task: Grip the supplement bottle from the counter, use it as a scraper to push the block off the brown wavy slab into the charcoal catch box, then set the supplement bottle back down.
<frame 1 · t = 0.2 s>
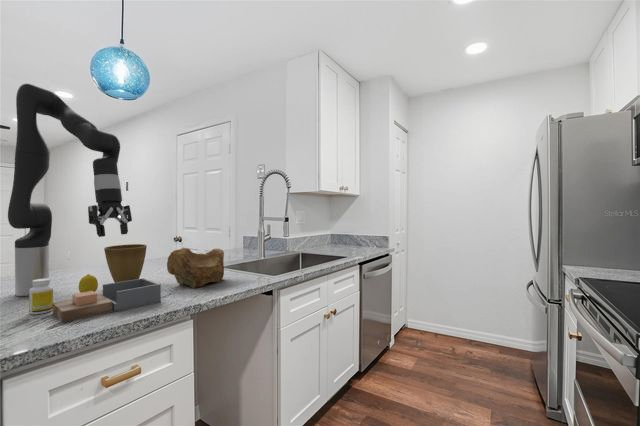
hand: (113, 235, 107), 22 cm above the worktop, fingers open, 8 cm apart
rough brown rock: (199, 285, 129), on the worktop
supplement bottle: (41, 312, 94), on the worktop
plant pot: (126, 285, 128), on the worktop
brown wavy slab: (82, 312, 94), on the worktop
catch box: (130, 302, 104), on the worktop
lemon: (88, 297, 111), on the worktop
block: (84, 302, 94), point 3 cm above the worktop, touching brown wavy slab
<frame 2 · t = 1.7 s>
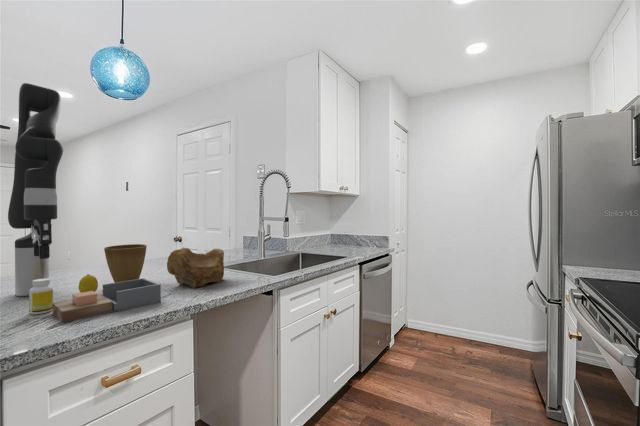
hand: (41, 257, 94), 17 cm above the worktop, fingers open, 8 cm apart
nothing on the worktop moved.
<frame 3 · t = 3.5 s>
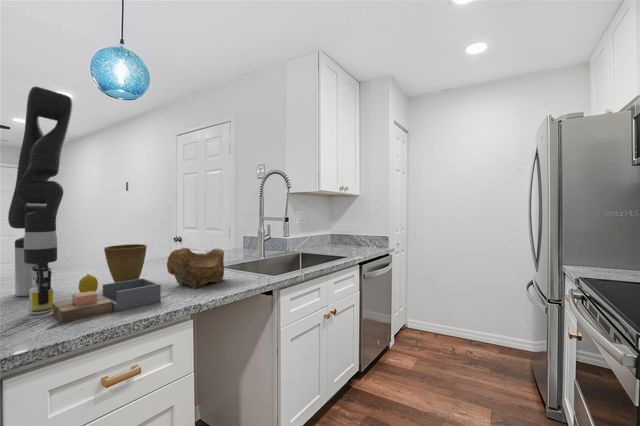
hand: (41, 301, 94), 3 cm above the worktop, fingers closed on supplement bottle, 5 cm apart
supplement bottle: (41, 312, 94), on the worktop, touching gripper
everything else where it was.
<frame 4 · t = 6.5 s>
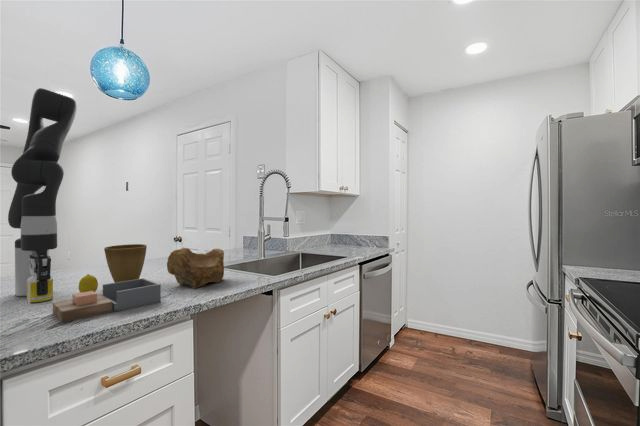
hand: (40, 292, 86), 8 cm above the worktop, fingers closed on supplement bottle, 5 cm apart
supplement bottle: (40, 304, 86), point 5 cm above the worktop, touching gripper
everything else where it was.
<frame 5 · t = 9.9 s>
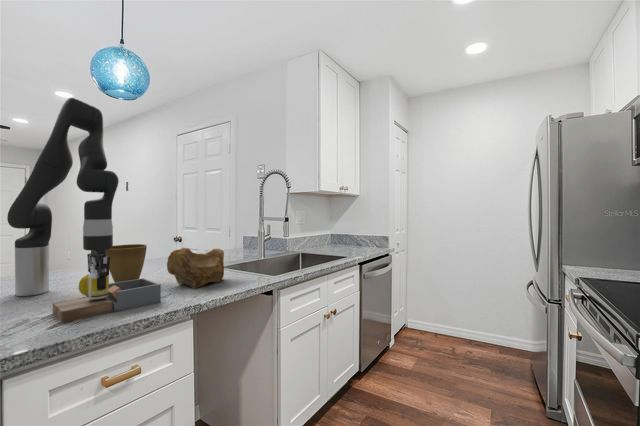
hand: (98, 287, 97), 7 cm above the worktop, fingers closed on supplement bottle, 5 cm apart
supplement bottle: (98, 298, 97), point 3 cm above the worktop, touching gripper
block: (113, 297, 100), point 3 cm above the worktop, tilted 62°, touching catch box
everything else where it was.
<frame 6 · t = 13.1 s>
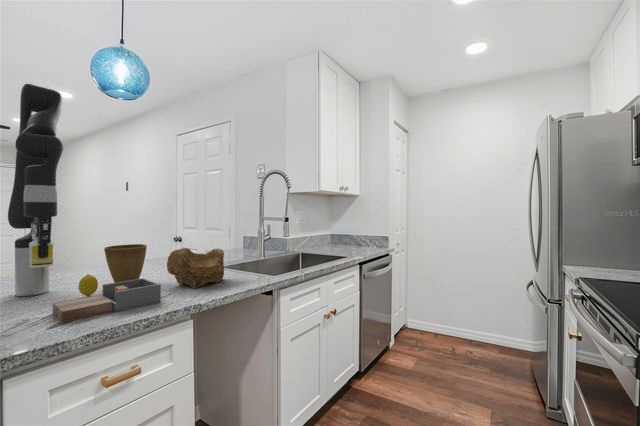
hand: (41, 256, 94), 17 cm above the worktop, fingers closed on supplement bottle, 5 cm apart
supplement bottle: (41, 267, 94), point 14 cm above the worktop, touching gripper
block: (117, 295, 101), point 3 cm above the worktop, tilted 90°, touching catch box
everything else where it was.
when the fingers open (4 cm above the worktop, at t = 15.8 s): supplement bottle stays where it is, on the worktop.
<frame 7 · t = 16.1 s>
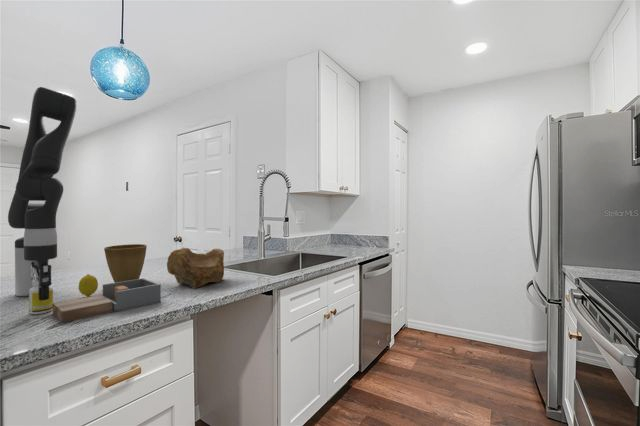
hand: (41, 297, 94), 4 cm above the worktop, fingers open, 7 cm apart
supplement bottle: (41, 312, 94), on the worktop
everything else where it was.
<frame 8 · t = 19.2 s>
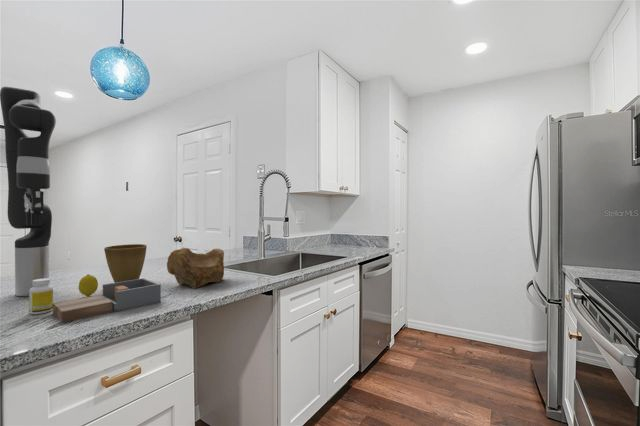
hand: (33, 225, 96), 26 cm above the worktop, fingers open, 8 cm apart
nothing on the worktop moved.
at the end: block inside the target area on the catch box (3.9 cm from its centre), point 3.1 cm above the catch box's base; supplement bottle tilted 0°; the gripper is holding nothing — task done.
